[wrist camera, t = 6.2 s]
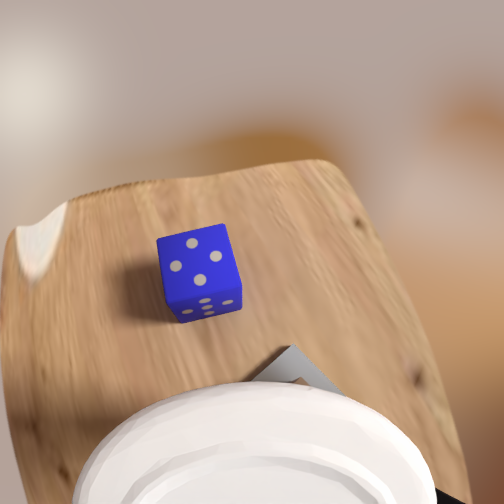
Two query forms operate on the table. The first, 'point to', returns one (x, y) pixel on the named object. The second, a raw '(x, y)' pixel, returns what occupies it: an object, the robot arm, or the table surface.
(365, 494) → the spice jar
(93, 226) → the table surface
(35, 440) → the table surface
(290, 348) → the ridge
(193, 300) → the die
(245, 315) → the table surface
